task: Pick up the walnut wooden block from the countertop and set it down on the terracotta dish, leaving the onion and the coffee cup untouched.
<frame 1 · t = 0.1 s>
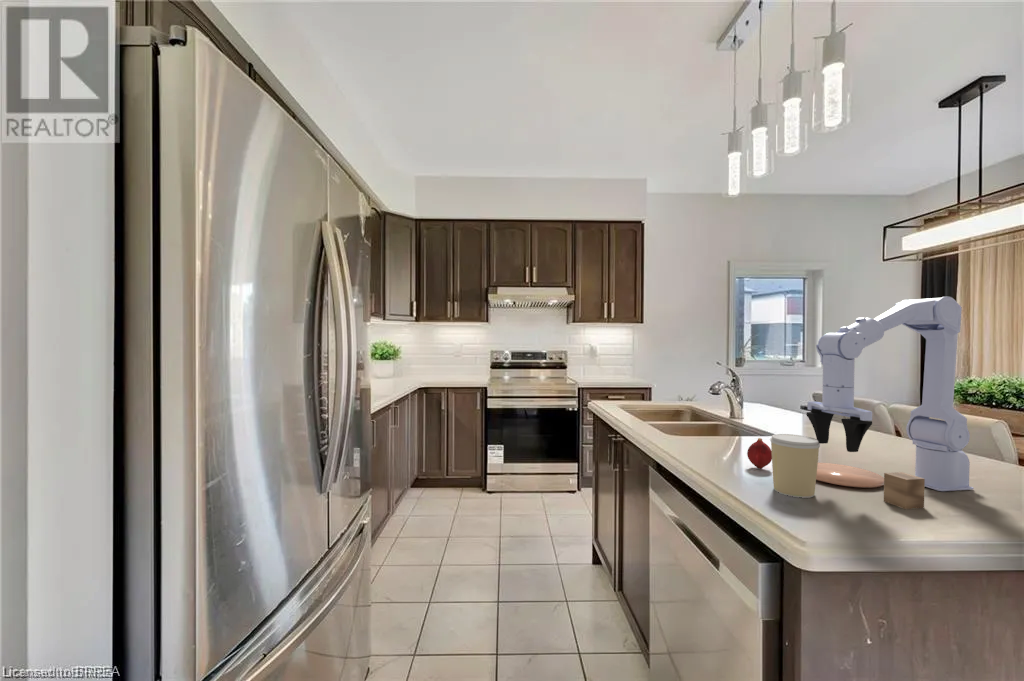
hand: (837, 447, 101), 10 cm above the counter, tool pointing down, fingers open, 7 cm apart
onion: (759, 469, 118), on the counter
coffee cup: (793, 492, 101), on the counter
block: (903, 504, 94), on the counter
dish: (839, 478, 111), on the counter
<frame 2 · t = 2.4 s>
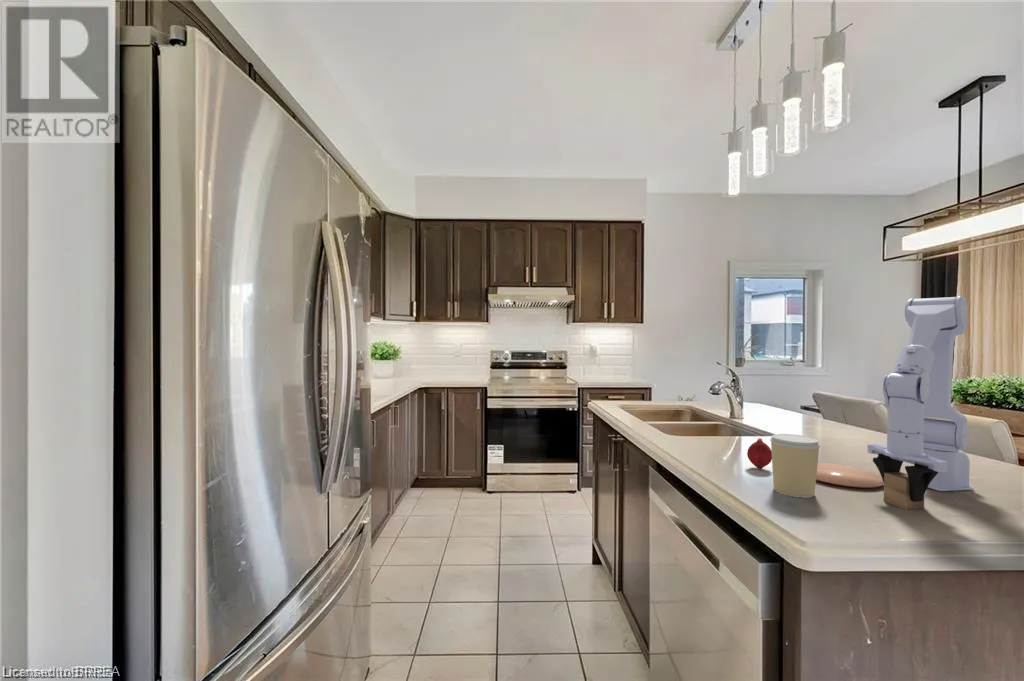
hand: (903, 496, 94), 2 cm above the counter, tool pointing down, fingers closed on block, 4 cm apart
block: (903, 504, 94), on the counter, touching gripper
everything else where it was.
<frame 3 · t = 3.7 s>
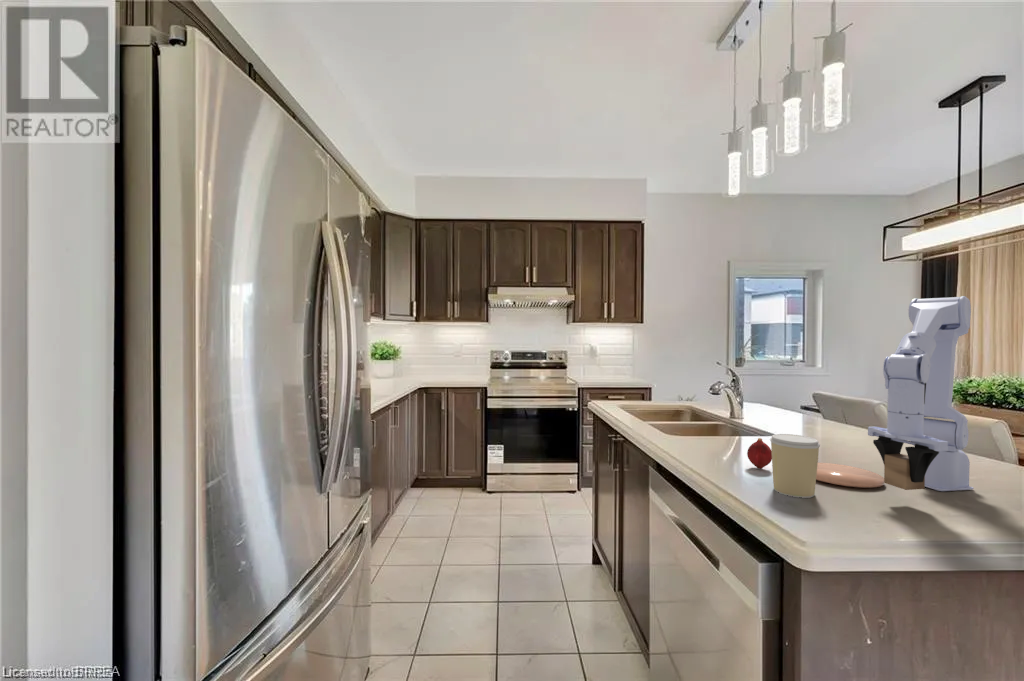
hand: (904, 477, 94), 5 cm above the counter, tool pointing down, fingers closed on block, 4 cm apart
block: (903, 485, 94), point 4 cm above the counter, touching gripper
everything else where it was.
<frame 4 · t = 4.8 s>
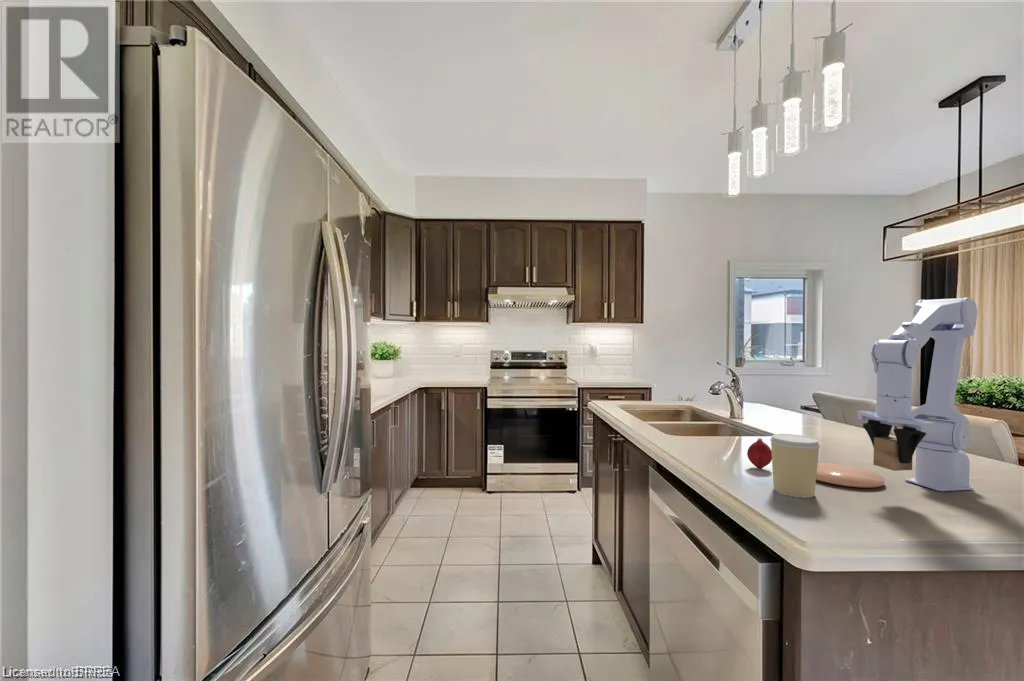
hand: (892, 459, 97), 9 cm above the counter, tool pointing down, fingers closed on block, 4 cm apart
block: (892, 467, 97), point 7 cm above the counter, touching gripper
everything else where it was.
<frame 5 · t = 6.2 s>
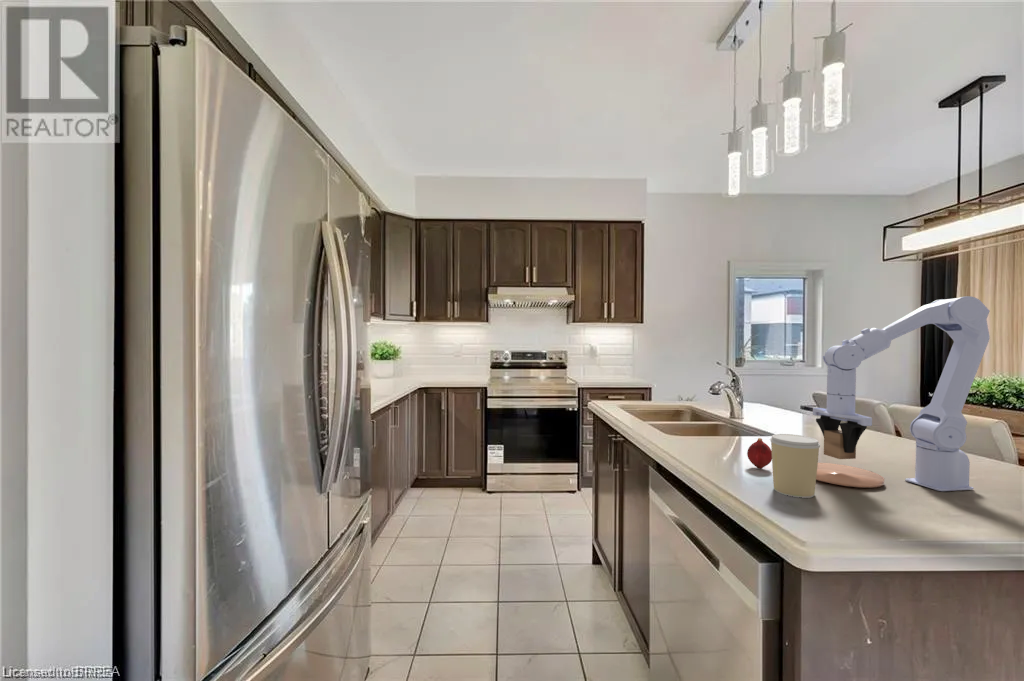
hand: (839, 449, 111), 7 cm above the counter, tool pointing down, fingers closed on block, 4 cm apart
block: (839, 456, 111), point 5 cm above the counter, touching gripper
everything else where it was.
when the fingers open (5 cm above the counter, at t = 7.4 s): block drops 1 cm, resting on dish.
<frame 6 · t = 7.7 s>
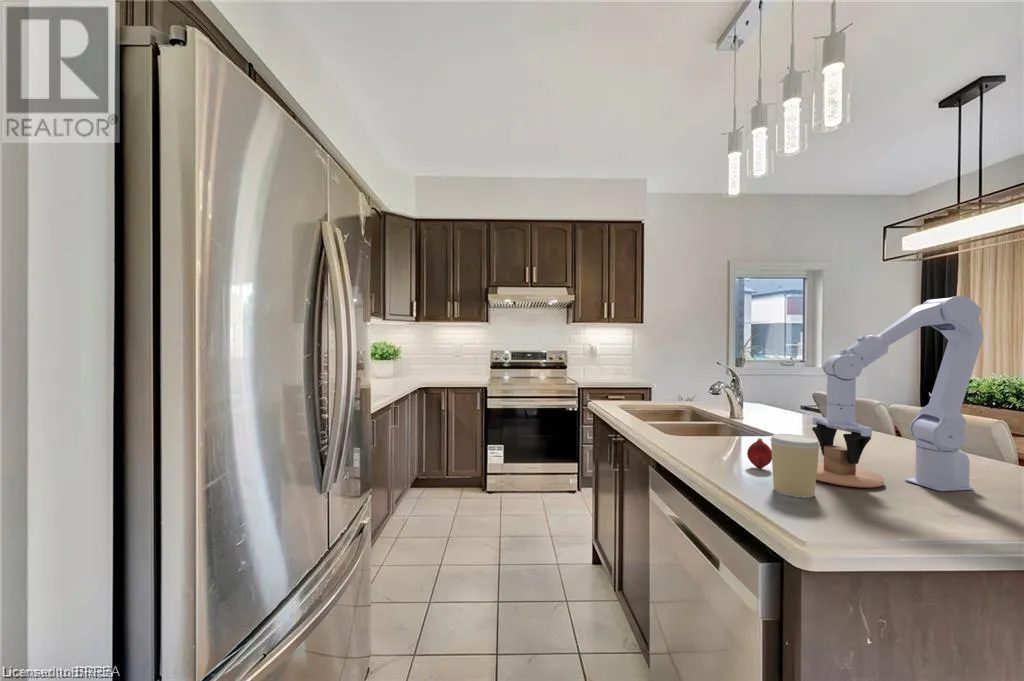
hand: (839, 459, 111), 5 cm above the counter, tool pointing down, fingers open, 7 cm apart
block: (839, 472, 111), point 1 cm above the counter, touching dish
everything else where it was.
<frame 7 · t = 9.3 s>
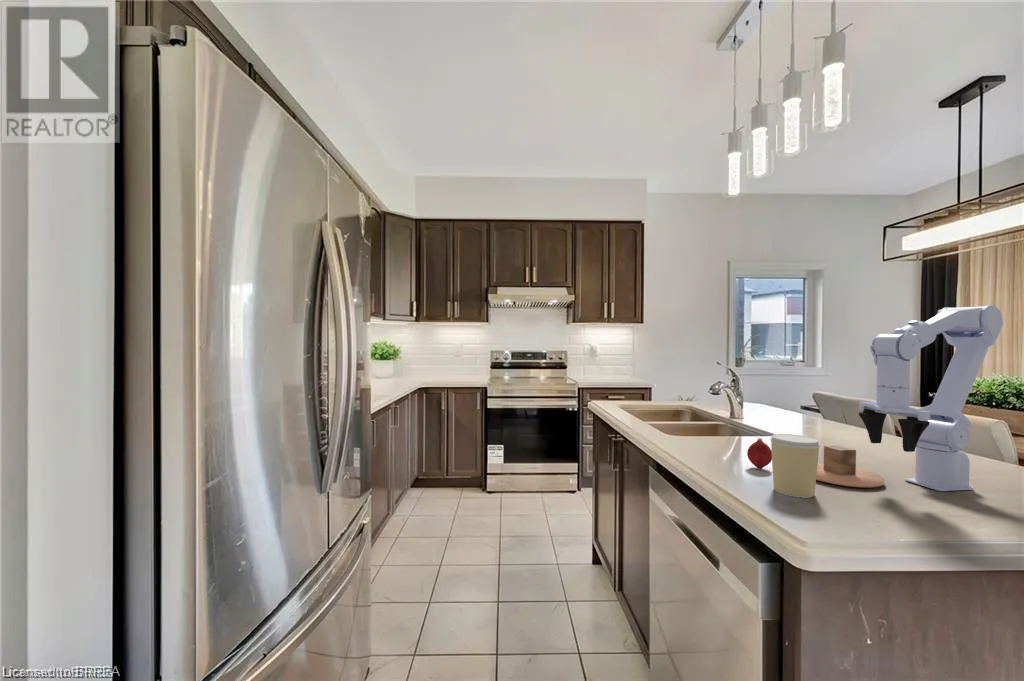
hand: (891, 447, 102), 10 cm above the counter, tool pointing down, fingers open, 7 cm apart
nothing on the counter moved.
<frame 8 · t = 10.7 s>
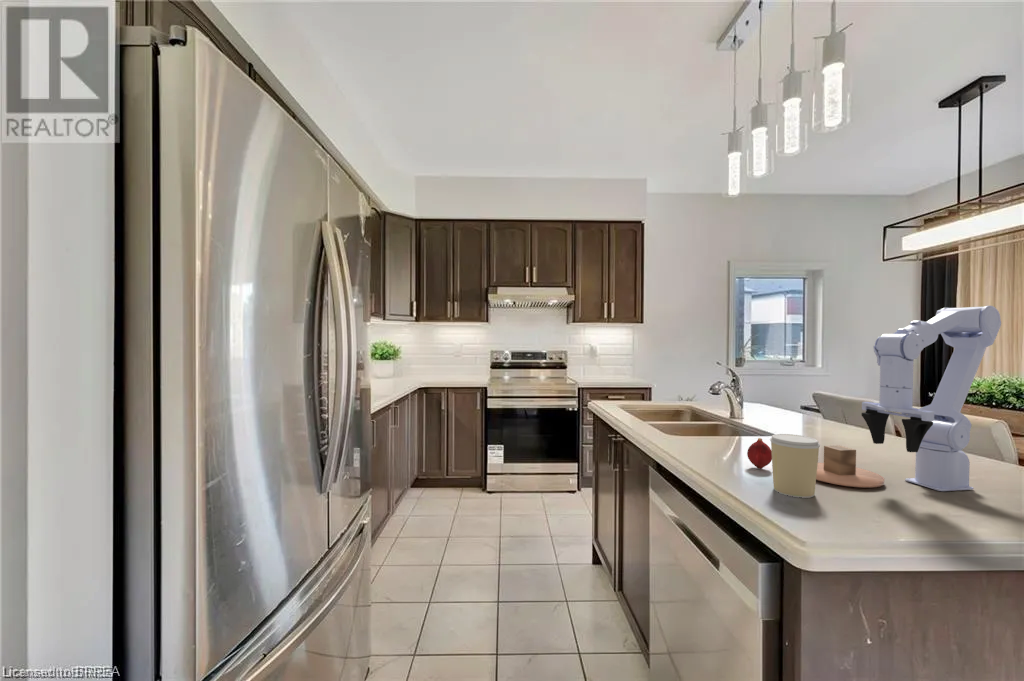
hand: (894, 447, 102), 10 cm above the counter, tool pointing down, fingers open, 7 cm apart
nothing on the counter moved.
at the end: block inside the target area on the dish (0.1 cm from its centre), point 1.5 cm above the dish's base; block tilted 0°; the gripper is holding nothing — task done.
